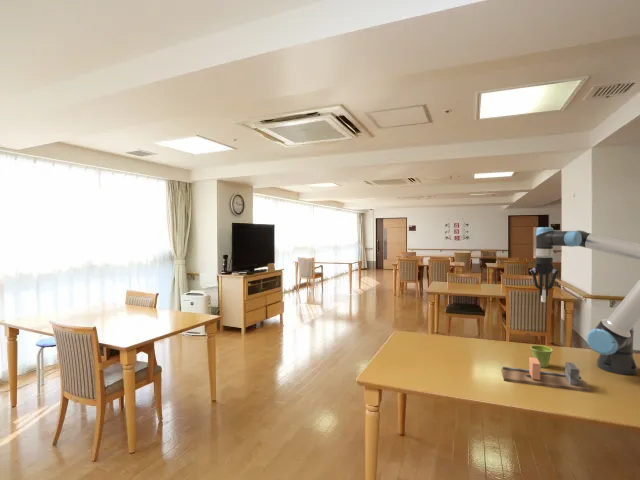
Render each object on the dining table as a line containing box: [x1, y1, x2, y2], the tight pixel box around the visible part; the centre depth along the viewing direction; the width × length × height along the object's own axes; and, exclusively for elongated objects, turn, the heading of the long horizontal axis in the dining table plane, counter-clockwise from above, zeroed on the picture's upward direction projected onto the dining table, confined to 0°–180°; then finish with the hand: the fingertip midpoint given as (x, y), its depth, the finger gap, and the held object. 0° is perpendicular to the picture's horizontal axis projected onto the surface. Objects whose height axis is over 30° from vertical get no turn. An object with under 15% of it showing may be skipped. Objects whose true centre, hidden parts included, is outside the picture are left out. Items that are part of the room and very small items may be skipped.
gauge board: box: [500, 361, 591, 393], centre depth 161 cm, size 32×12×8 cm, turn 69°
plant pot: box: [530, 344, 554, 369], centre depth 179 cm, size 9×9×9 cm
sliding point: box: [528, 356, 541, 380], centre depth 162 cm, size 3×8×7 cm, turn 159°
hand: (543, 301), depth 189 cm, fingers closed
